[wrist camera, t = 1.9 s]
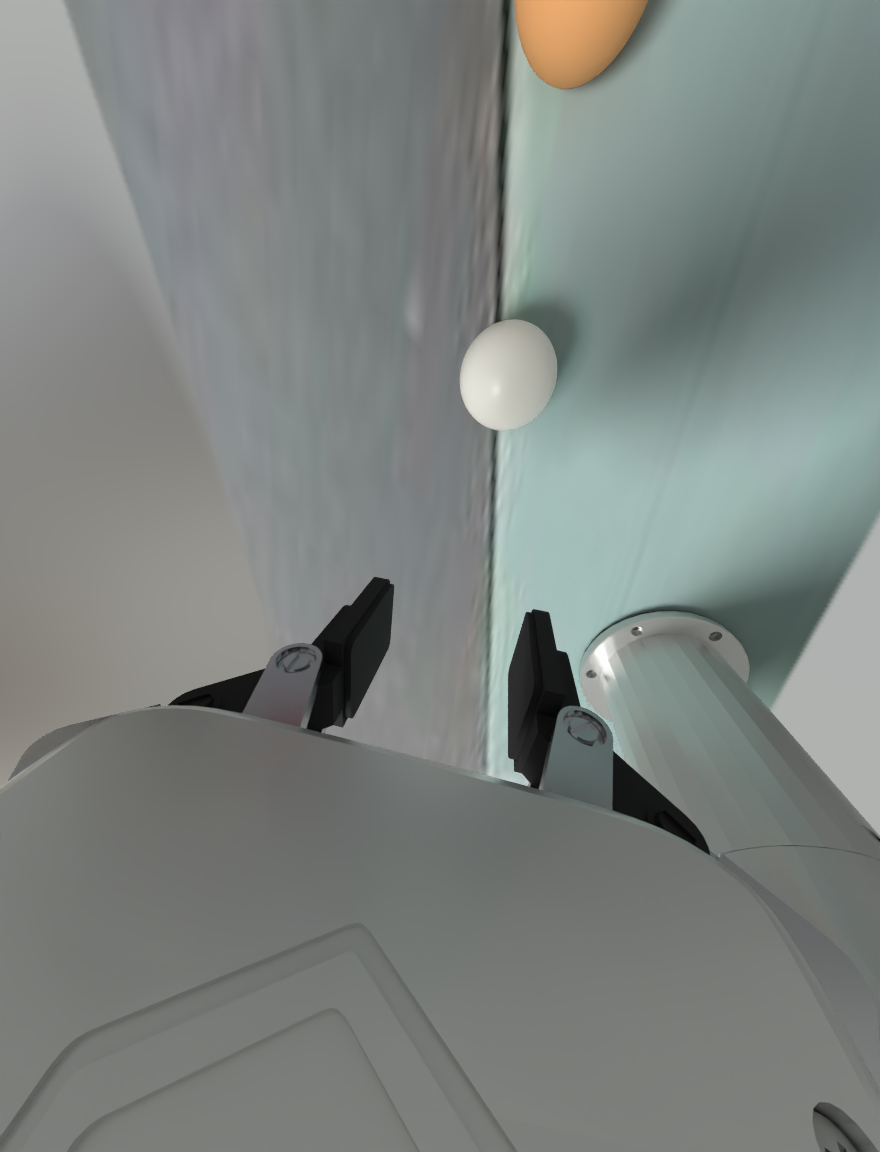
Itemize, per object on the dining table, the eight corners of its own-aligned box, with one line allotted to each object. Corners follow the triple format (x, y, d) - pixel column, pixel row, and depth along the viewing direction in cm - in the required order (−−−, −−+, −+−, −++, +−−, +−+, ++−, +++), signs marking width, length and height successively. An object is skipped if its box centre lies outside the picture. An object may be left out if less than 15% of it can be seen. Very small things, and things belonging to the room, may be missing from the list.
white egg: (565, 396, 21) (582, 392, 17) (490, 444, 24) (486, 453, 19) (527, 309, 20) (533, 276, 15) (450, 368, 22) (433, 356, 17)
